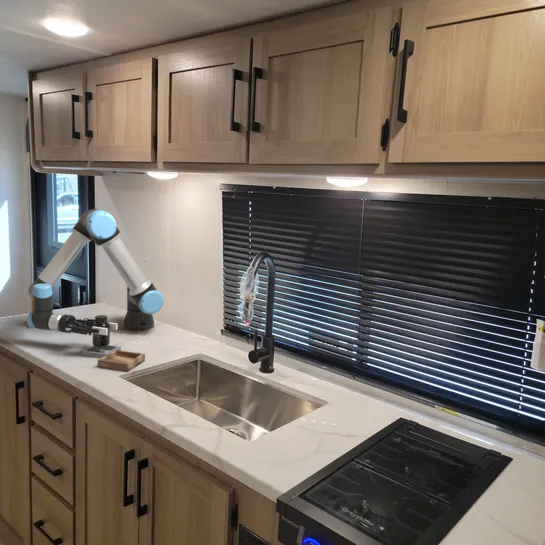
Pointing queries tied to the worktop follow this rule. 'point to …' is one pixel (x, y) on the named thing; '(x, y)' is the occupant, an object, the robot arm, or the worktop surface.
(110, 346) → the gray square frame
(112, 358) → the walnut tray
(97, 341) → the supplement bottle
